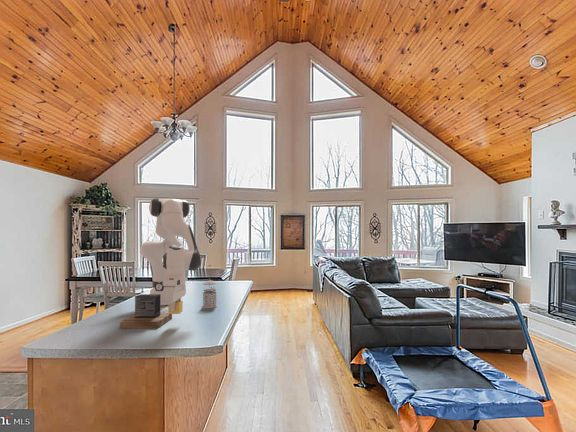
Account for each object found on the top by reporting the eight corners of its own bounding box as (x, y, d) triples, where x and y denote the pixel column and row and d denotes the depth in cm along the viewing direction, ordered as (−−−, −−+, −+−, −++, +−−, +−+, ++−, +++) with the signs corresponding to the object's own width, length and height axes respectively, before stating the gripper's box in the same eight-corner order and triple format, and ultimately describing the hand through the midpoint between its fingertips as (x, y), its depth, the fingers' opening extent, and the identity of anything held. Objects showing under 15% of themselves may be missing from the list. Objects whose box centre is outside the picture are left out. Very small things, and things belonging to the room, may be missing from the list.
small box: (161, 314, 176) (161, 293, 176) (155, 318, 169) (155, 296, 170) (140, 314, 176) (140, 293, 177) (134, 318, 170) (134, 296, 170)
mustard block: (172, 311, 168) (172, 300, 169) (182, 311, 168) (182, 300, 168) (168, 313, 163) (168, 303, 164) (179, 313, 163) (179, 303, 163)
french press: (214, 303, 216) (214, 263, 217) (222, 307, 206) (222, 264, 207) (198, 306, 210) (198, 264, 211) (206, 309, 201) (206, 265, 202)
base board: (137, 318, 181) (137, 312, 181) (172, 318, 180) (172, 312, 181) (119, 328, 163) (120, 321, 163) (158, 328, 162) (158, 321, 163)
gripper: (176, 276, 177) (176, 304, 176) (161, 283, 156) (160, 314, 156) (189, 276, 177) (188, 304, 176) (175, 283, 156) (174, 314, 156)
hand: (175, 309), depth 166 cm, fingers closed on mustard block, 5 cm apart
